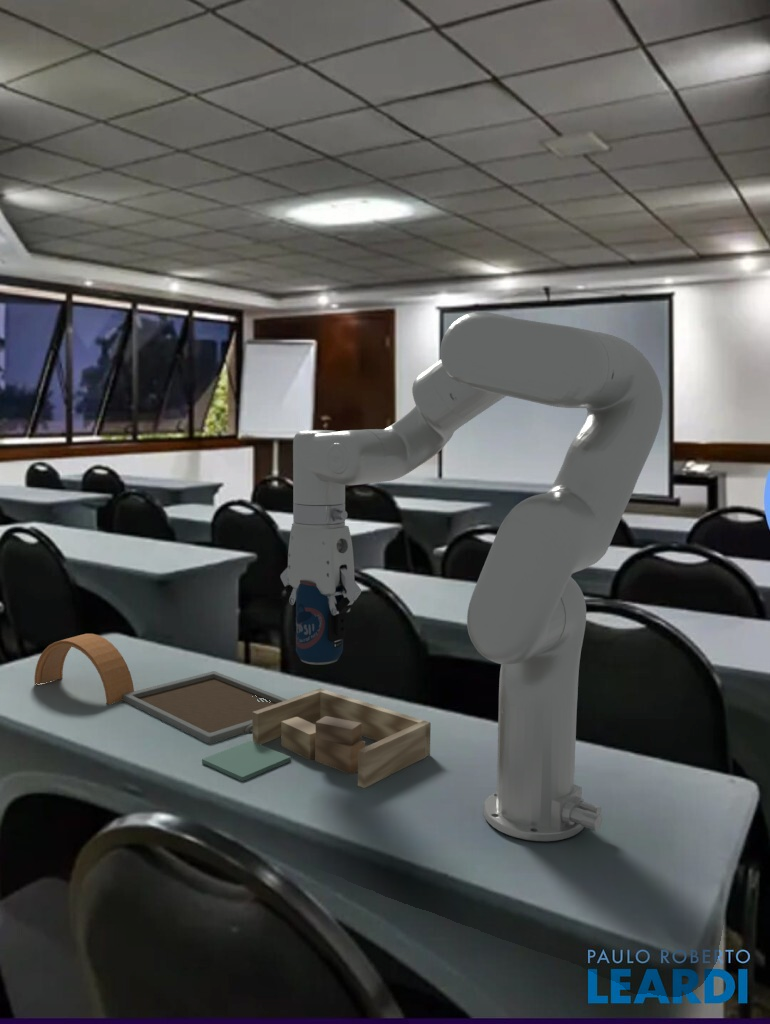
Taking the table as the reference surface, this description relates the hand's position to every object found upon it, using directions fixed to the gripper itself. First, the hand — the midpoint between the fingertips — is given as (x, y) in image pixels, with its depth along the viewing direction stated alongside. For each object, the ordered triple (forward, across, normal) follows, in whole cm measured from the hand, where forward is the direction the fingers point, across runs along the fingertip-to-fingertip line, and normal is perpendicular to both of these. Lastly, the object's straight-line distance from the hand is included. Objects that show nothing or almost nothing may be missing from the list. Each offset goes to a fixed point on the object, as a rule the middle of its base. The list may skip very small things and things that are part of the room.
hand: (319, 633), depth 122 cm
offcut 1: (+18, +2, +2) cm, 18 cm away
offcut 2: (+18, -6, +1) cm, 19 cm away
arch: (+19, +51, +11) cm, 55 cm away
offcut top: (+14, -6, +2) cm, 15 cm away
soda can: (+4, 0, 0) cm, 4 cm away
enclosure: (+18, -2, -3) cm, 18 cm away
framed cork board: (+19, +26, 0) cm, 32 cm away
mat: (+18, +4, +10) cm, 21 cm away
